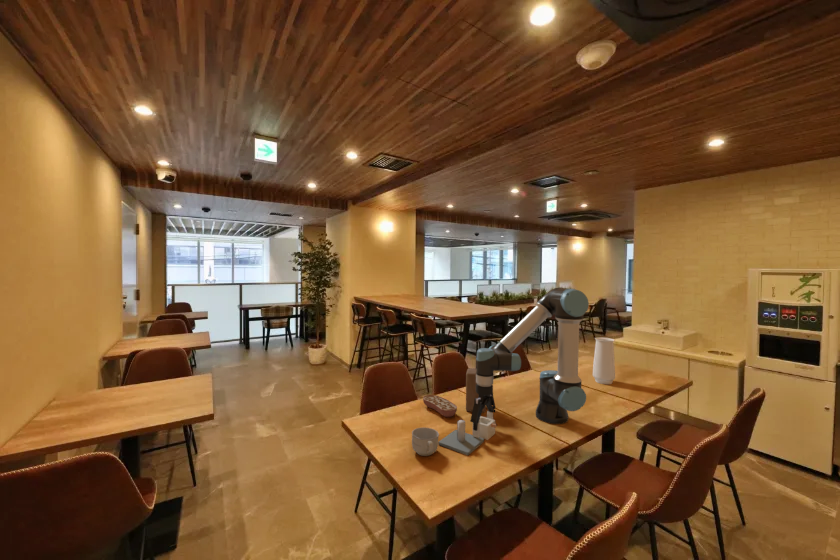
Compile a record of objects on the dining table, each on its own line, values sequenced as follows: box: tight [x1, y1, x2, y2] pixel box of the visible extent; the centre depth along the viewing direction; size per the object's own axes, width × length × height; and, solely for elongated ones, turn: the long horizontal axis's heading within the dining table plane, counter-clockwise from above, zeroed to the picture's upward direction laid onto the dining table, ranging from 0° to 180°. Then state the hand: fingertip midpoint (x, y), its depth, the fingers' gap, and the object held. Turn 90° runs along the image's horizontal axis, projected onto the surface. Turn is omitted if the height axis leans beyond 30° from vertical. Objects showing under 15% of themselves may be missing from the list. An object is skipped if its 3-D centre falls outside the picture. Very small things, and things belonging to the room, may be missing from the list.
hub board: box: [438, 419, 485, 456], centre depth 147 cm, size 14×14×9 cm
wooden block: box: [465, 368, 487, 413], centre depth 183 cm, size 10×10×20 cm
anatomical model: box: [422, 394, 458, 418], centre depth 180 cm, size 23×10×5 cm, turn 34°
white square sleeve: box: [479, 415, 497, 441], centre depth 154 cm, size 9×7×6 cm
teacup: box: [411, 426, 440, 457], centre depth 138 cm, size 14×11×8 cm
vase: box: [592, 336, 616, 385], centre depth 226 cm, size 13×13×28 cm
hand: (483, 431), depth 155 cm, fingers open, 13 cm apart
